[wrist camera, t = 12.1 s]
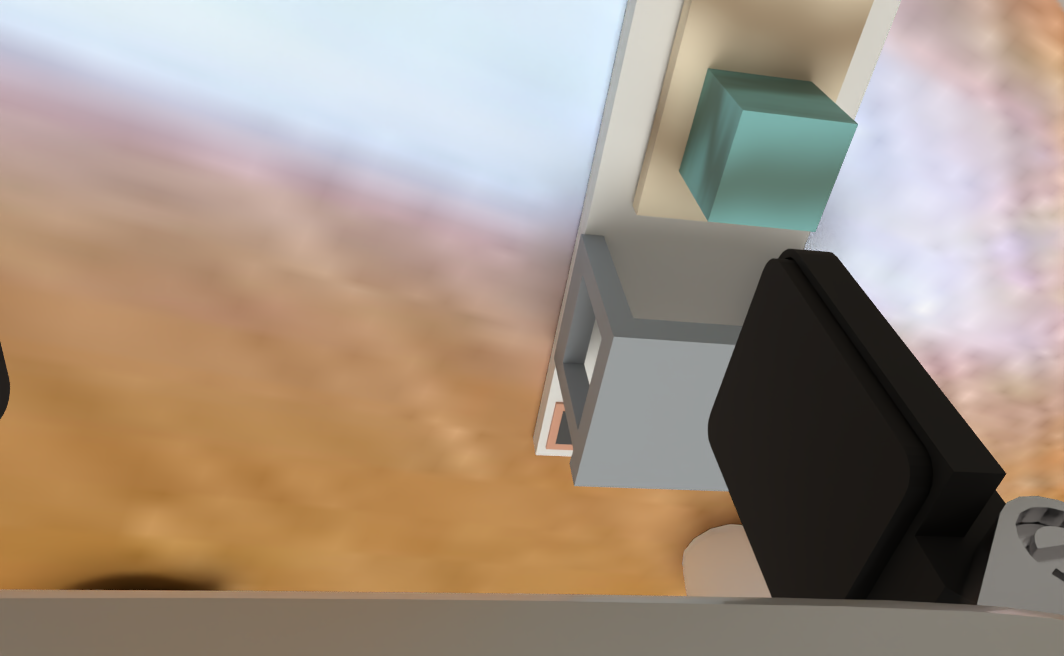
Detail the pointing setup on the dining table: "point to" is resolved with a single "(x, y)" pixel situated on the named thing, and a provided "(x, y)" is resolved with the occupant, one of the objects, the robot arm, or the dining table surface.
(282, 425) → the dining table surface
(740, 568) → the foam cup
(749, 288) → the tunnel board
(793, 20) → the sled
